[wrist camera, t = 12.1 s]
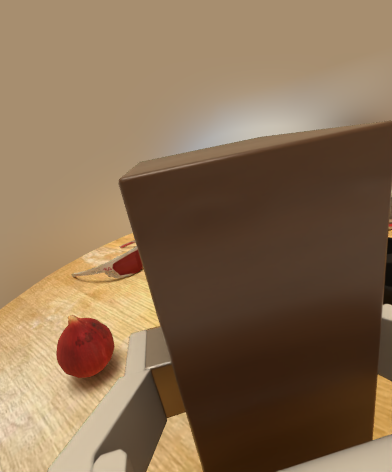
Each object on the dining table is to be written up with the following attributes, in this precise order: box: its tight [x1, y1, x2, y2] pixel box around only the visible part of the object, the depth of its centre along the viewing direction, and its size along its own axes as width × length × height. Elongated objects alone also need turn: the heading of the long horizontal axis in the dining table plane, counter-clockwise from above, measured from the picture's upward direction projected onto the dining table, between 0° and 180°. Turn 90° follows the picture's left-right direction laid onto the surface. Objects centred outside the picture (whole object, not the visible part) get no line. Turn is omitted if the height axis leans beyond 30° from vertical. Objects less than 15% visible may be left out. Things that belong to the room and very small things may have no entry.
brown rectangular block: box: [119, 121, 392, 472], centre depth 8 cm, size 6×4×13 cm
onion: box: [57, 315, 114, 378], centre depth 28 cm, size 6×6×8 cm
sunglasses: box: [72, 240, 143, 278], centre depth 58 cm, size 17×17×5 cm
